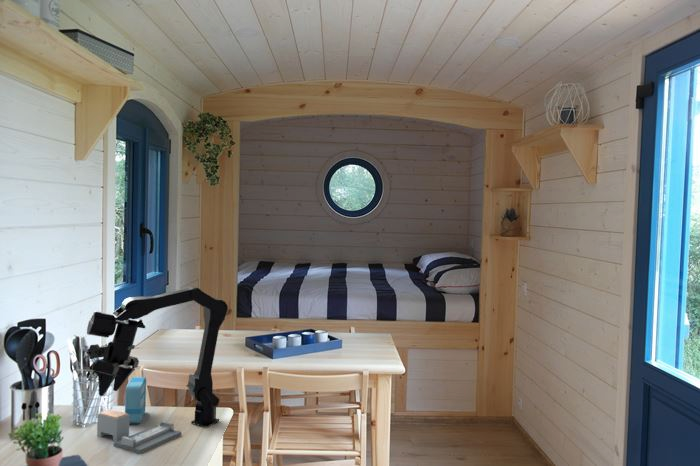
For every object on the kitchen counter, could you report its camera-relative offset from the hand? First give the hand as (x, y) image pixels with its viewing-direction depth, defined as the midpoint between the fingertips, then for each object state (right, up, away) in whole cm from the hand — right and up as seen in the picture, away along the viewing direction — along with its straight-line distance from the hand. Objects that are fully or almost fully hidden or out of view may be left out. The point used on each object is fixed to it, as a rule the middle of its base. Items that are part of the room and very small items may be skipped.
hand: (108, 393), depth 168 cm
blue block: (+1, -13, +17) cm, 22 cm away
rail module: (0, -13, +2) cm, 13 cm away
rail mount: (+12, -14, 0) cm, 18 cm away
